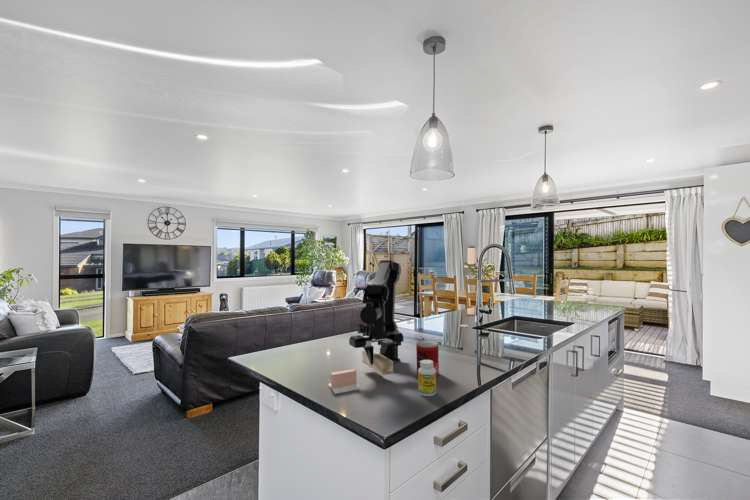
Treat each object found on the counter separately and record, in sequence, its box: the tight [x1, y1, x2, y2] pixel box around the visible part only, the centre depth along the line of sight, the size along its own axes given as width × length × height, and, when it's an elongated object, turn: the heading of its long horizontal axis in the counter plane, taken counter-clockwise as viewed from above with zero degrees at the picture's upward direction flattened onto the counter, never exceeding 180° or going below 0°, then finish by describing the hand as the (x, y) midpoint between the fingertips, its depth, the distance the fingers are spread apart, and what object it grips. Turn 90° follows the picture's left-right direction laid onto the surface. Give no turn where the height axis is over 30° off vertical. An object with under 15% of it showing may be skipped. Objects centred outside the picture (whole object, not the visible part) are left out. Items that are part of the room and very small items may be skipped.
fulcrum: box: [327, 368, 361, 395], centre depth 108 cm, size 8×7×5 cm
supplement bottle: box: [417, 360, 437, 397], centre depth 102 cm, size 5×5×10 cm
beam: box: [361, 349, 394, 376], centre depth 117 cm, size 4×16×4 cm, turn 26°
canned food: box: [415, 339, 440, 377], centre depth 119 cm, size 8×8×11 cm
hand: (377, 363), depth 117 cm, fingers closed on beam, 4 cm apart
